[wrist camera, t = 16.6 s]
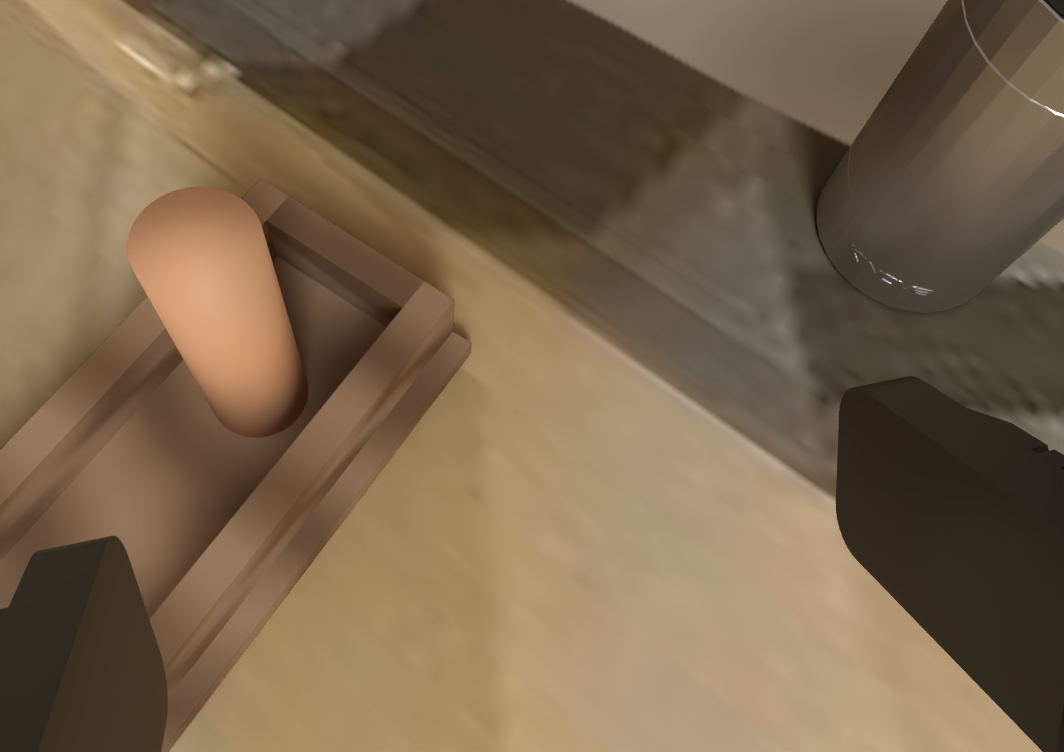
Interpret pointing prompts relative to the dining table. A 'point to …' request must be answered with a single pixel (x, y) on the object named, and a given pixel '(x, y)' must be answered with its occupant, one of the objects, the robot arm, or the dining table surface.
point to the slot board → (230, 449)
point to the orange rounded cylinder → (221, 306)
